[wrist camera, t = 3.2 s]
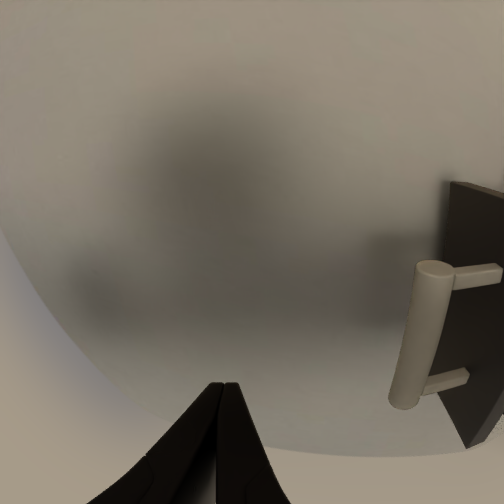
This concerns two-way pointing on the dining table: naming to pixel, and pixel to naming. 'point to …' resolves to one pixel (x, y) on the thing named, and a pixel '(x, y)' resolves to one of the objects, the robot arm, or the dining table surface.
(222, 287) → the dining table surface
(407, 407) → the drawer
